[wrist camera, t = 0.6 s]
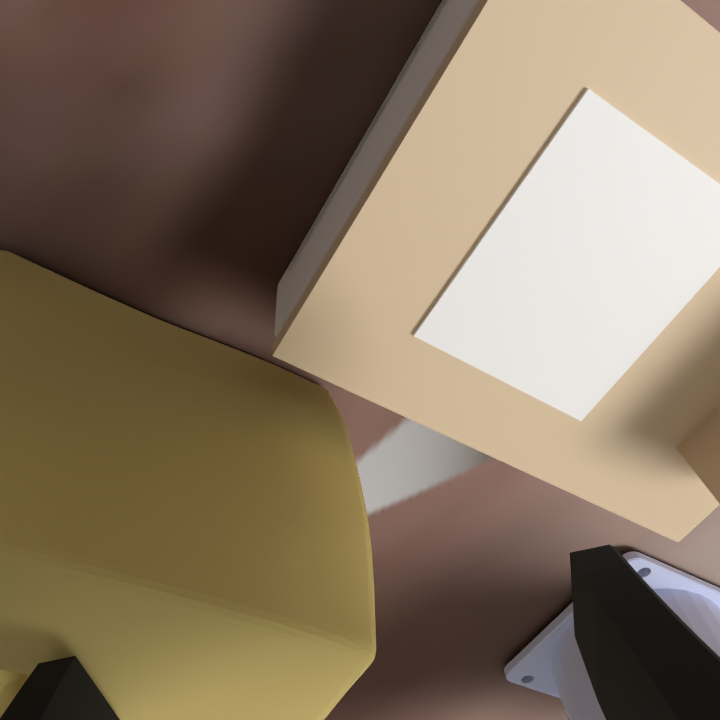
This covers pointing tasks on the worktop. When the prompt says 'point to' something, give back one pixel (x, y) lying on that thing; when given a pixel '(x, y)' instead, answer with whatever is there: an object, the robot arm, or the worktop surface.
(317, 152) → the worktop surface
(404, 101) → the box
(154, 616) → the cheese
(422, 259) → the lid
